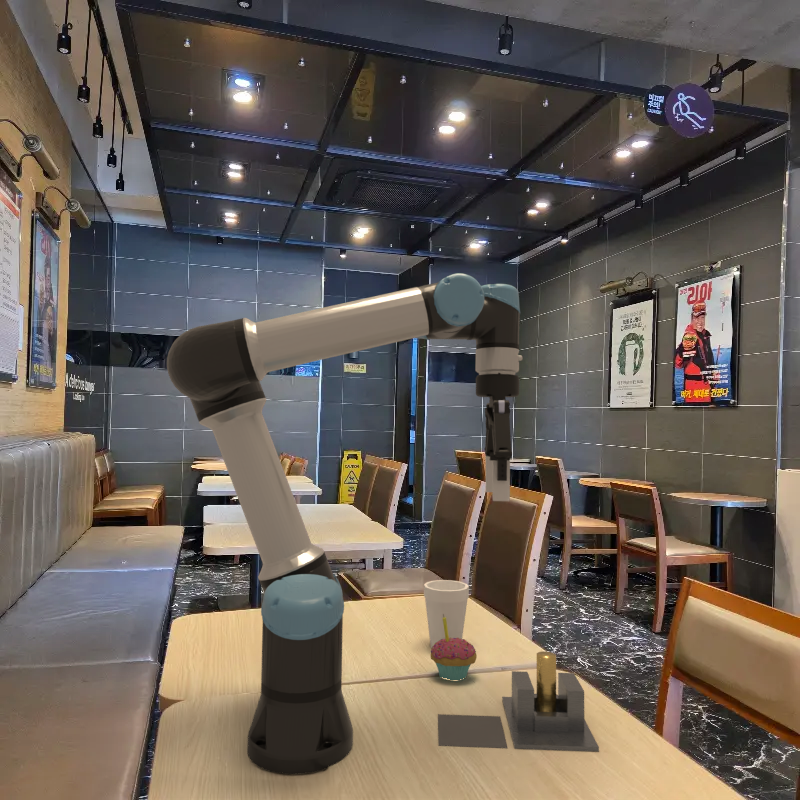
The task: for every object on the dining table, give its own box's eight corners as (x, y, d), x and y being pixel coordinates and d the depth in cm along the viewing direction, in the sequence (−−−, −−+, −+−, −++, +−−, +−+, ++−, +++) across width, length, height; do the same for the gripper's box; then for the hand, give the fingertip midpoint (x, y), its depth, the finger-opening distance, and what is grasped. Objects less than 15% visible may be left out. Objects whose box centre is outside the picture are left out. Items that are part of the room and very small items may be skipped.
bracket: (514, 751, 91) (514, 701, 91) (502, 702, 107) (502, 660, 107) (598, 754, 90) (598, 704, 91) (573, 705, 106) (573, 662, 107)
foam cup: (468, 641, 138) (468, 581, 138) (468, 656, 128) (468, 591, 129) (424, 639, 139) (425, 579, 139) (421, 654, 129) (422, 590, 130)
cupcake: (438, 689, 112) (439, 621, 113) (424, 671, 120) (424, 607, 121) (483, 684, 114) (483, 617, 115) (466, 667, 123) (466, 604, 123)
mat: (438, 748, 92) (438, 745, 92) (437, 716, 102) (437, 714, 102) (507, 750, 91) (507, 748, 91) (500, 718, 101) (500, 716, 101)
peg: (538, 723, 97) (538, 658, 98) (535, 714, 100) (535, 651, 101) (557, 724, 97) (557, 658, 98) (554, 715, 100) (554, 651, 101)
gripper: (530, 367, 98) (529, 505, 97) (510, 379, 123) (509, 489, 122) (481, 367, 98) (480, 504, 97) (471, 379, 123) (470, 488, 122)
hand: (496, 496), depth 109 cm, fingers open, 13 cm apart
